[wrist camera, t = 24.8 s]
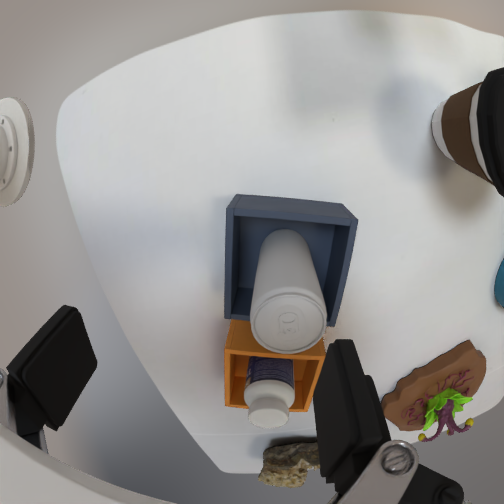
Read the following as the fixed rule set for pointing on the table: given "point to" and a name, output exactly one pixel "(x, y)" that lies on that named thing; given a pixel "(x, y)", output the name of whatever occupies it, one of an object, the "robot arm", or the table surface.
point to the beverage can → (287, 295)
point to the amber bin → (246, 345)
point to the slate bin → (294, 218)
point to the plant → (437, 392)
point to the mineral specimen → (289, 464)
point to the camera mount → (500, 285)
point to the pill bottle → (269, 390)
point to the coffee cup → (475, 128)
